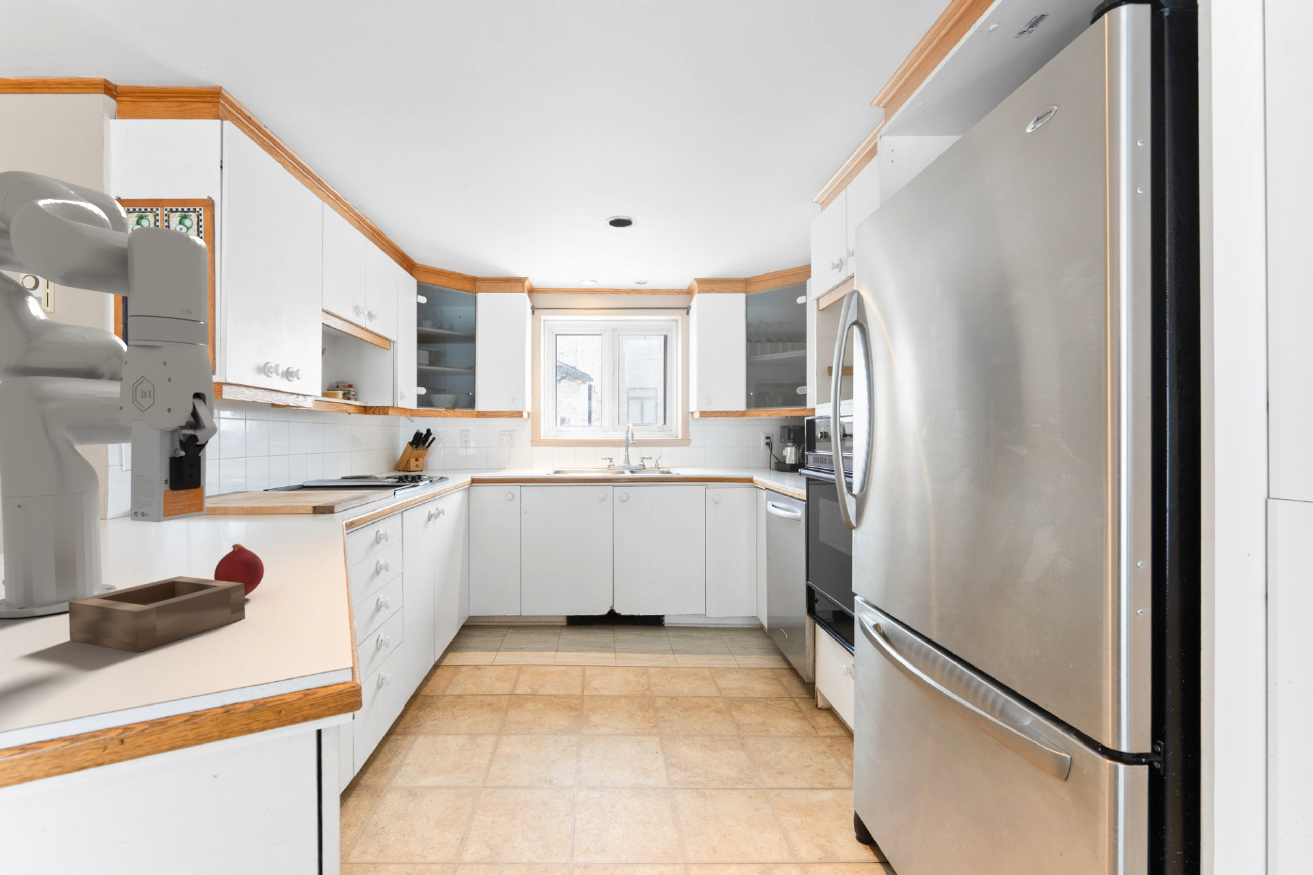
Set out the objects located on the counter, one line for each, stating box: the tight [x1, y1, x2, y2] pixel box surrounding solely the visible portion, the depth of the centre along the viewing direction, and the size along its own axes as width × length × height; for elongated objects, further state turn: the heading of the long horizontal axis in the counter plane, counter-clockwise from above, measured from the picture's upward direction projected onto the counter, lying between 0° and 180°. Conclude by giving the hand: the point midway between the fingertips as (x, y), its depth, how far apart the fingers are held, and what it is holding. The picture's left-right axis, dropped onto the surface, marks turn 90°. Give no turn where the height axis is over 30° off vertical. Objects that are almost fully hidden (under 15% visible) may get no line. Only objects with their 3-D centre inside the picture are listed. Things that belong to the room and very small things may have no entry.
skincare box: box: [130, 419, 207, 523], centre depth 72 cm, size 6×4×12 cm
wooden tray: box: [68, 575, 246, 653], centre depth 73 cm, size 12×12×4 cm
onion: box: [213, 543, 265, 597], centre depth 85 cm, size 6×6×8 cm
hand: (170, 486), depth 72 cm, fingers closed on skincare box, 4 cm apart
